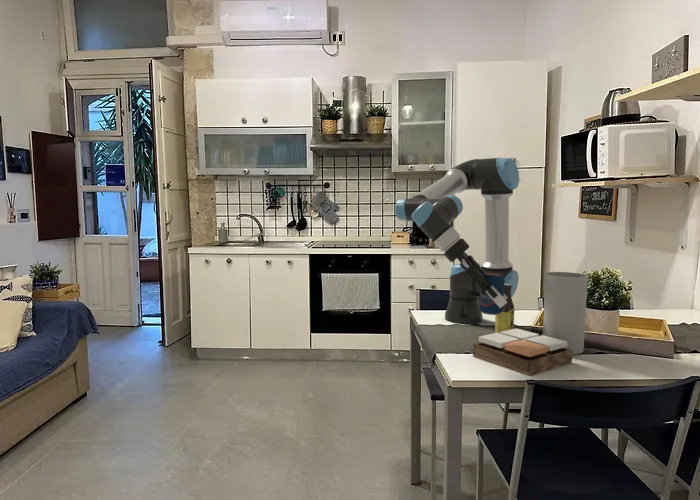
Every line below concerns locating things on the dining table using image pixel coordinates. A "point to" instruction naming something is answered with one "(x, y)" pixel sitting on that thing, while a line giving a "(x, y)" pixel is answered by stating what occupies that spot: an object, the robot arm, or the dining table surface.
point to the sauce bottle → (505, 313)
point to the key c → (548, 342)
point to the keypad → (522, 359)
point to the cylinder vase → (565, 308)
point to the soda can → (485, 300)
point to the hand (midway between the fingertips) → (503, 302)
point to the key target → (526, 348)
